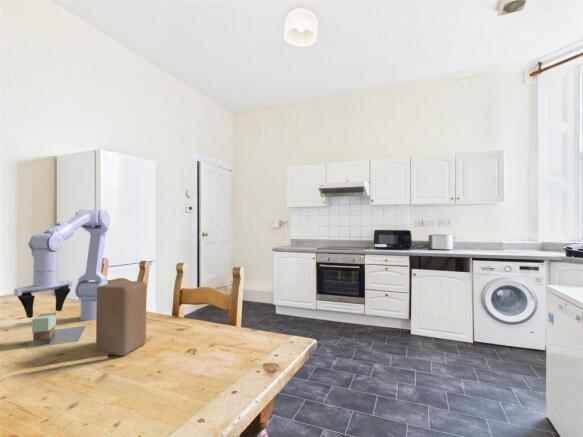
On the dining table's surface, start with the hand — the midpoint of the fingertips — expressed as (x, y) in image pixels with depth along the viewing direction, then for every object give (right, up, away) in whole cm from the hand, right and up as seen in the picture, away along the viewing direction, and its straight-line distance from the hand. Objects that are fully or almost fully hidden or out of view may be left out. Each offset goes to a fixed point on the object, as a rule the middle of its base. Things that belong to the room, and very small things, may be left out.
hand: (44, 313), depth 94 cm
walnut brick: (0, -9, 0) cm, 9 cm away
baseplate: (+1, -10, +4) cm, 11 cm away
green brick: (0, -5, 0) cm, 5 cm away
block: (+26, -10, -3) cm, 28 cm away
